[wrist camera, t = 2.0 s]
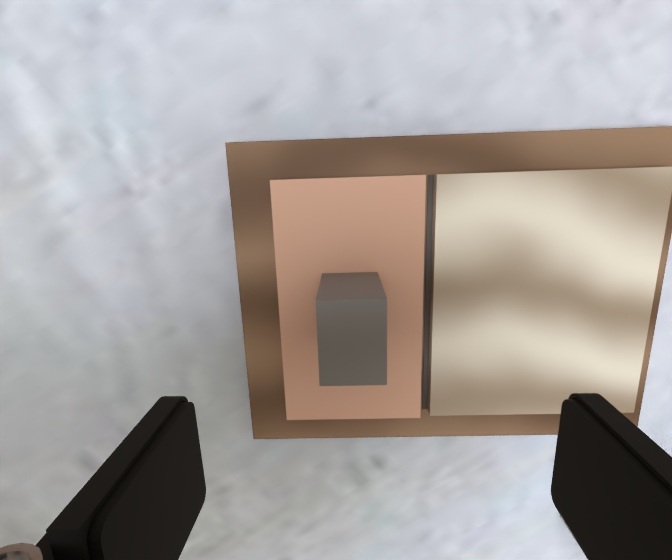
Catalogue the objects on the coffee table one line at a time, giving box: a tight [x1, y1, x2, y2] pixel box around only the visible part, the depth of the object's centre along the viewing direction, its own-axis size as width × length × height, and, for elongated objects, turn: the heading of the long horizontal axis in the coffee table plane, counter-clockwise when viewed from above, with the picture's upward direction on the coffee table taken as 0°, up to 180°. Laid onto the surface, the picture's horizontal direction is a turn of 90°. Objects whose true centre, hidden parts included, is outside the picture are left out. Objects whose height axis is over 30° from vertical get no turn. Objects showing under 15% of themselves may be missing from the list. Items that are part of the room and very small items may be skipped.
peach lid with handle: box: [270, 175, 426, 420], centre depth 20 cm, size 14×8×6 cm, turn 2°
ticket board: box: [225, 126, 672, 439], centre depth 23 cm, size 18×24×2 cm
